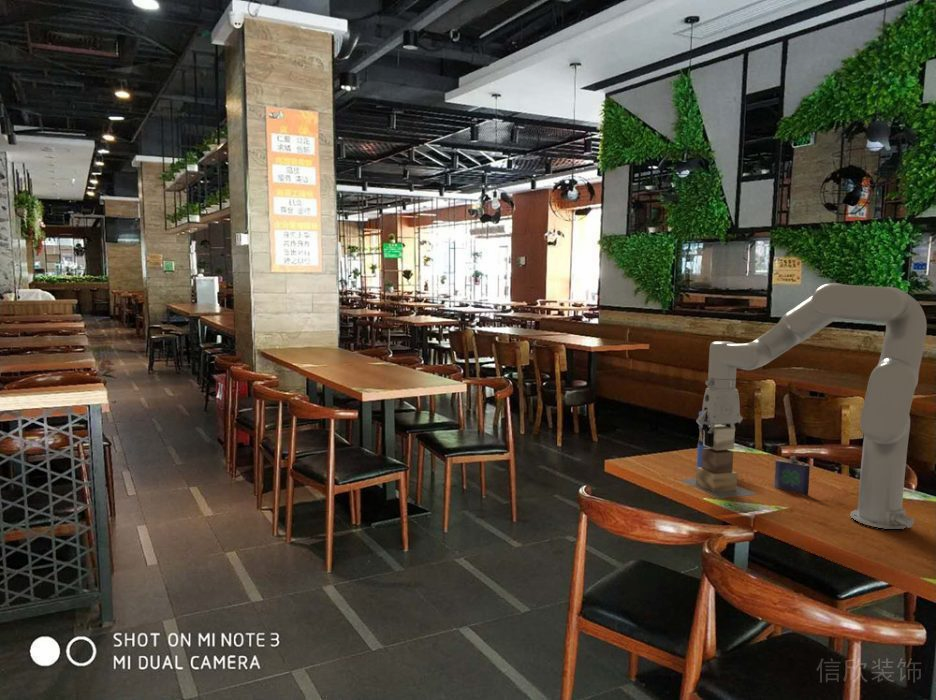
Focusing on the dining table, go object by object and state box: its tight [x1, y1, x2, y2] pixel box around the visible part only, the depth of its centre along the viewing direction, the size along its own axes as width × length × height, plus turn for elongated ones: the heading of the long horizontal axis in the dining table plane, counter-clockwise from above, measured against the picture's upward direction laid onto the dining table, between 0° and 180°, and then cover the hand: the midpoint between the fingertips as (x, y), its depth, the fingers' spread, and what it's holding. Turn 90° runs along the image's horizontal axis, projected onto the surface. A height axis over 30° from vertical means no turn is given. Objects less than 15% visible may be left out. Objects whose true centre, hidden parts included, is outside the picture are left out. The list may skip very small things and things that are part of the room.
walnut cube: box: [702, 448, 734, 474], centre depth 195 cm, size 6×6×6 cm
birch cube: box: [703, 424, 736, 451], centre depth 194 cm, size 6×6×6 cm
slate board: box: [680, 477, 758, 499], centre depth 196 cm, size 18×13×1 cm
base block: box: [695, 467, 738, 492], centre depth 195 cm, size 8×8×5 cm
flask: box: [773, 455, 811, 496], centre depth 194 cm, size 9×3×11 cm, turn 50°
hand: (718, 444), depth 194 cm, fingers closed on birch cube, 6 cm apart
